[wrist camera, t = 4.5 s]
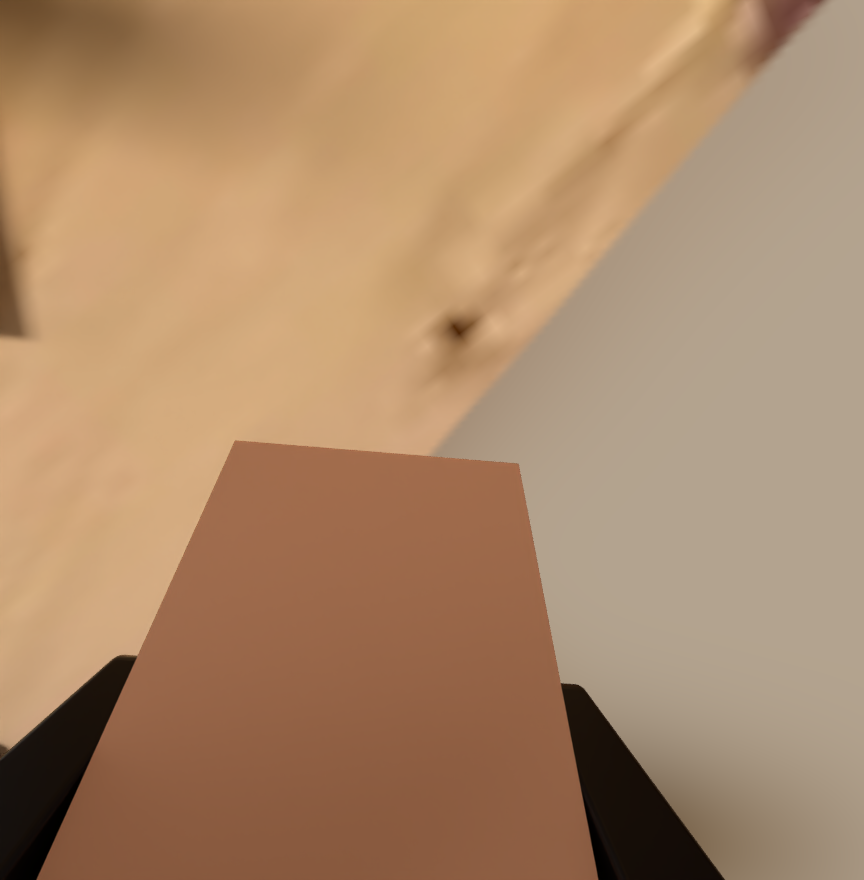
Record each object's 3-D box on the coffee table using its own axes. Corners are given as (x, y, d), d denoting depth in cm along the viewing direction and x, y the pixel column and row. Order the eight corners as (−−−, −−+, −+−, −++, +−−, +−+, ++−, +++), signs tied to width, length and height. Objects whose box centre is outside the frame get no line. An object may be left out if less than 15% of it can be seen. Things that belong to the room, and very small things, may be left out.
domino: (505, 534, 14) (626, 1399, 5) (238, 514, 14) (-94, 1390, 5) (517, 463, 13) (687, 1348, 4) (234, 440, 13) (-168, 1332, 4)
